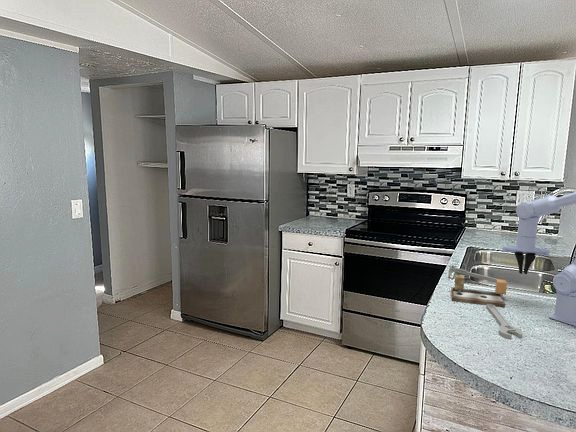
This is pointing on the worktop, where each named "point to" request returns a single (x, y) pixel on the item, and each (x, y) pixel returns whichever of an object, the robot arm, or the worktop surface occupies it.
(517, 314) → the worktop surface
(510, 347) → the worktop surface
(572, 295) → the robot arm
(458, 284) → the board
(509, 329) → the adjustable wrench
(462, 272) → the caliper
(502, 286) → the block
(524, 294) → the worktop surface
